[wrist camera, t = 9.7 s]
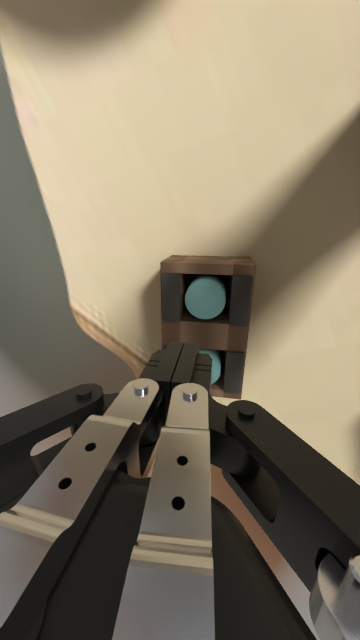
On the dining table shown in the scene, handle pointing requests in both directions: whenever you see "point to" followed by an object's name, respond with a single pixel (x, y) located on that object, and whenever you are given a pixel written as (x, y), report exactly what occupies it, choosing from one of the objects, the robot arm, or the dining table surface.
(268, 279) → the dining table surface
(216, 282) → the peg
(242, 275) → the socket block
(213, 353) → the peg
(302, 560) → the robot arm
